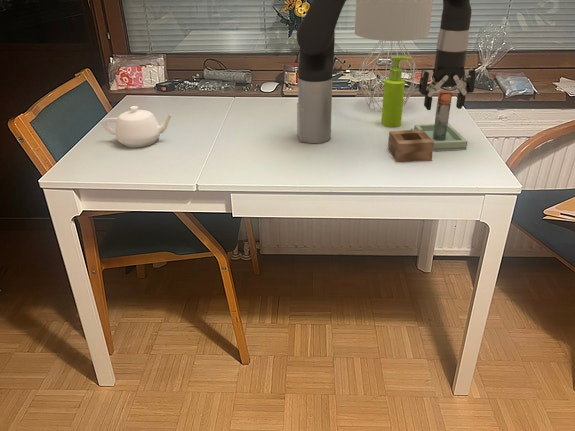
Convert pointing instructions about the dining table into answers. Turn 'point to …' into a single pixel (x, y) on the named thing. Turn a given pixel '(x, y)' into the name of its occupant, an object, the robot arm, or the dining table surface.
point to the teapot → (136, 127)
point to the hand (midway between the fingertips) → (443, 108)
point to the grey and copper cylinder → (442, 115)
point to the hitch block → (410, 145)
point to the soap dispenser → (393, 95)
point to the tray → (450, 143)
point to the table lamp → (391, 29)
